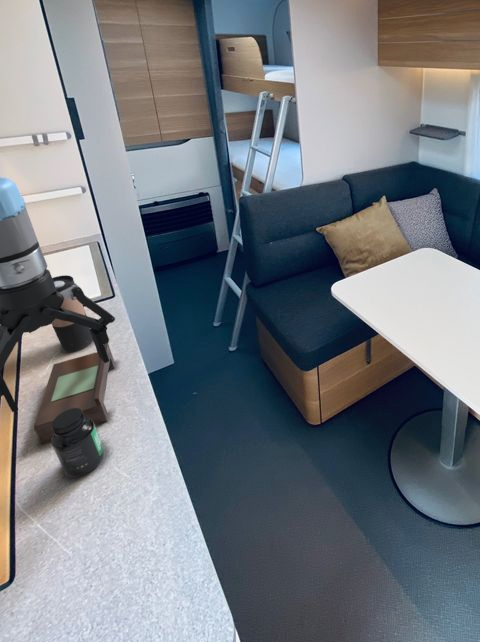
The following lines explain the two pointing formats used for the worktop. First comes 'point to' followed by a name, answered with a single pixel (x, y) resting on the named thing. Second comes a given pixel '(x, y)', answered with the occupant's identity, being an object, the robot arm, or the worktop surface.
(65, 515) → the worktop surface
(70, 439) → the supplement bottle
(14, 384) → the worktop surface
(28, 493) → the worktop surface
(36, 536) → the worktop surface
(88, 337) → the travel mug
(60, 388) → the wooden plaque with label
